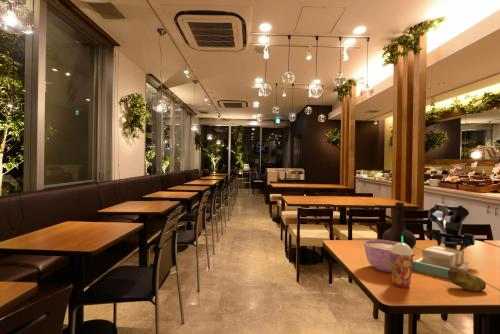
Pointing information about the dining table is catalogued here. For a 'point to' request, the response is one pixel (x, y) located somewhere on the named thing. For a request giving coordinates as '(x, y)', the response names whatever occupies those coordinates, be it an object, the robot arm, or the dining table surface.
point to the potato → (465, 279)
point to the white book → (434, 268)
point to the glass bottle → (399, 228)
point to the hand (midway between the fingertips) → (449, 250)
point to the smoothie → (401, 264)
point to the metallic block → (443, 257)
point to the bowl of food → (379, 253)
